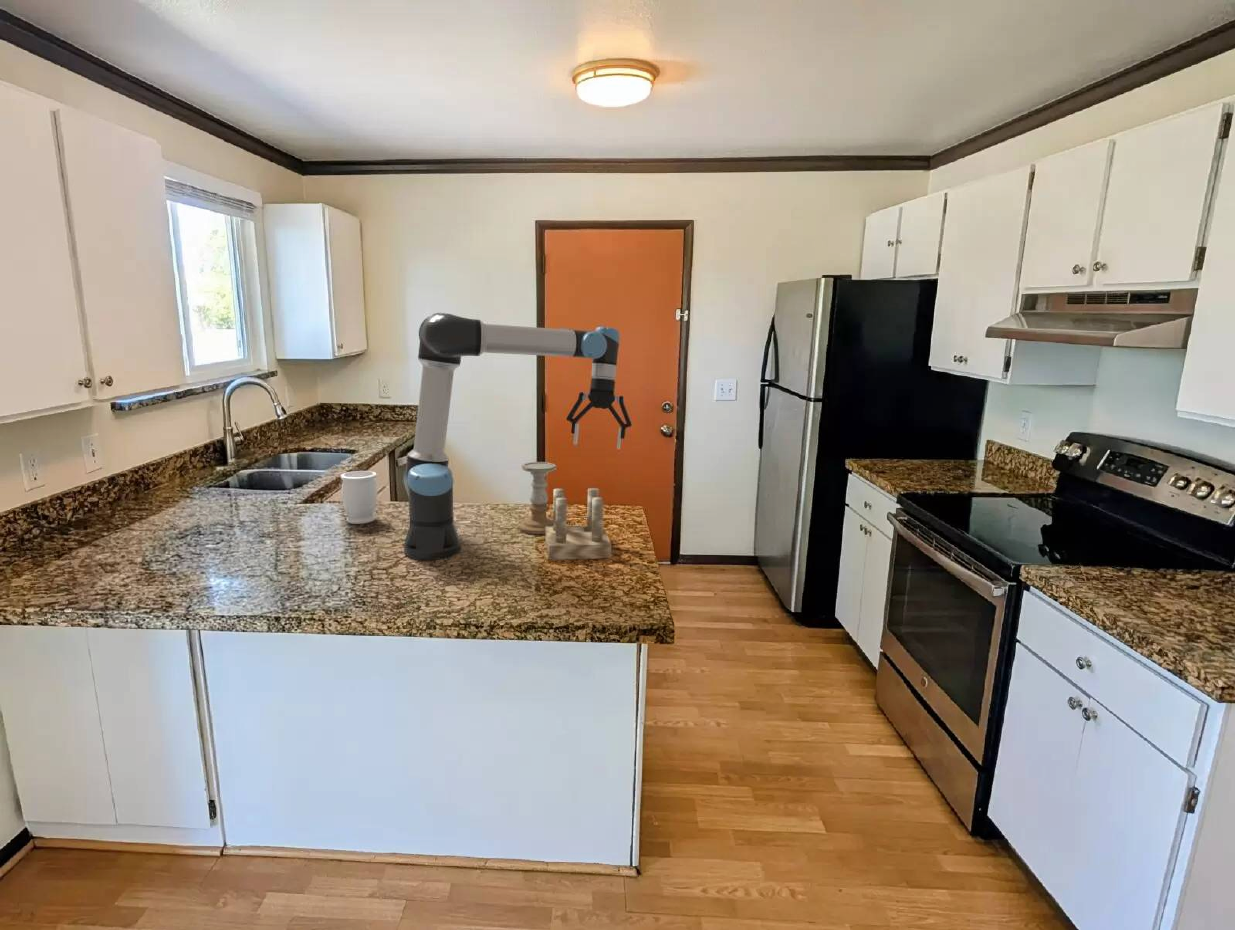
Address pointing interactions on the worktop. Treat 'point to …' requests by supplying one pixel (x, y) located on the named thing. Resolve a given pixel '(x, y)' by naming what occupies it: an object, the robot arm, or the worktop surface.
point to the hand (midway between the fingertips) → (596, 446)
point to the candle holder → (537, 498)
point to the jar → (359, 496)
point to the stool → (576, 533)
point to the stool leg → (591, 494)
